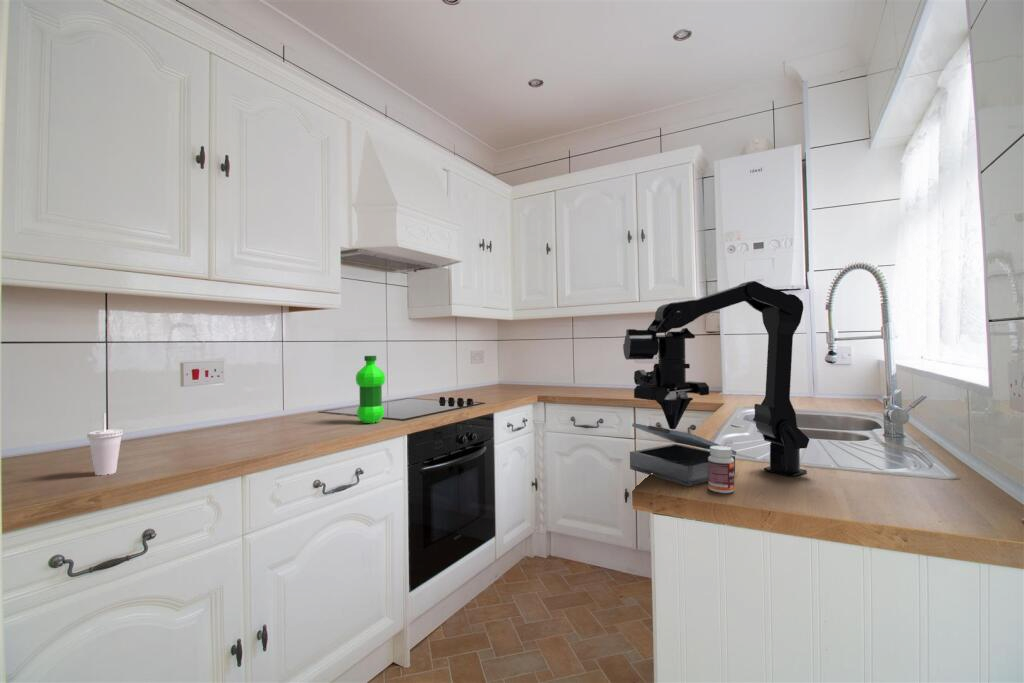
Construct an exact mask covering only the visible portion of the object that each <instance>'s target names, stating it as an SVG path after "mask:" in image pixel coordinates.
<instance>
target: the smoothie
mask: <svg viewBox="0 0 1024 683" xmlns="http://www.w3.org/2000/svg"><path fill="white" fill-rule="evenodd" d="M106 414H107V412H103V413H102V429H101V430H94V431H91V432H87V436H86V438H87V439H89V440H88V441H89V447H90V454H91V458H92V463H93V471H94V475H95V476H96V475H97V477H99V475H102V476H108V475H107V474H109V475H112V474H115V473H116V472H117V470H118V469H117V468H118V461H119V455H120V447H121V441H122V435H124V430H123V429H122V428H120V429H119V428H113V429H112V428H110V429H106V428H107V426H106V425H107V423H106V422H107V421H106V420H107V417H106V416H107V415H106Z"/></svg>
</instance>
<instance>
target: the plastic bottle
mask: <svg viewBox="0 0 1024 683" xmlns="http://www.w3.org/2000/svg"><path fill="white" fill-rule="evenodd" d="M363 358H364V361H365V365H364V366H363V367H362V368H361V369H360V370H358V371H357V372H356V375H355V383H356V384H357V386H358V387H359V406H358V408H357V411H356V415H357V417H358V420H360V421H361V422H364V423H374V424H376V423H375V422H378V423H379V422H380V421H381V420H382V419H383V418H384V416H385V408H384V407H383V405H382V402H383V401H382V399H383V398H382V396H383V395H382V394H383V393H382V387H383V385H384V384H385V383H386V382H385V381H386V374H385V373H384V371H382V370H381V369H380V367H378V366H377V364H376V361H377V355H364V357H363ZM364 423H363V424H364Z"/></svg>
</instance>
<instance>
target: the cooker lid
mask: <svg viewBox="0 0 1024 683" xmlns="http://www.w3.org/2000/svg"><path fill="white" fill-rule="evenodd" d="M631 427H633V428H635V429H638V430H641V431H644V432H646V433H649V434H651V435H653V436H657V437H659V438H662V439H665V440H667V441H670V442H673V443H675V444H680V445H684V446H689V447H694V448H699V449H703V450H708V451H710V447H711V446H722V445H721V444H719V443H715V442H714V441H711V440H708V439H706V438H704V437H700V436H699V435H696V434H693V433H688V432H683V431H677V430H674V429H670V428H665V427H660V426H654V425H645V424H641V423H640V424H639V423H634V422H632V424H631ZM736 455H737V451H736V450H733V449H732V456H736Z"/></svg>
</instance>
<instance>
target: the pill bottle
mask: <svg viewBox="0 0 1024 683" xmlns="http://www.w3.org/2000/svg"><path fill="white" fill-rule="evenodd" d="M732 450H733V448H732V447H730V446H726V445H725V446H724V445H721V446H711V447H710V450H709V451H710V454H711V456H709V457H708V481H707V484H708V486H707V487H708V489H709V490H710V491H712V492H715V493H721V494H731V493H733V492H735V475H734V459H733V458H732V457H731V456H733V454H732Z"/></svg>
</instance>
